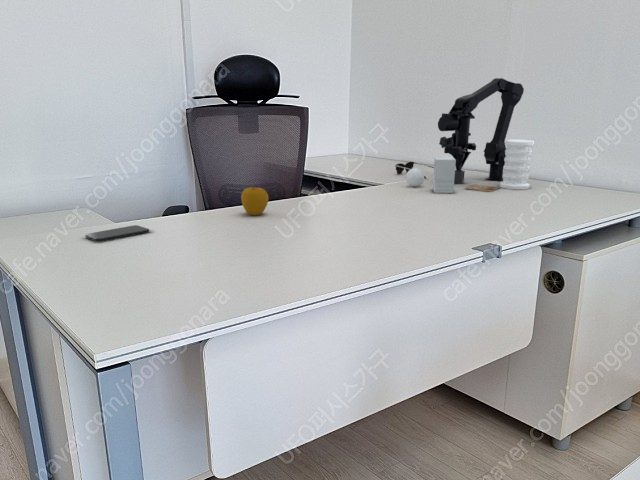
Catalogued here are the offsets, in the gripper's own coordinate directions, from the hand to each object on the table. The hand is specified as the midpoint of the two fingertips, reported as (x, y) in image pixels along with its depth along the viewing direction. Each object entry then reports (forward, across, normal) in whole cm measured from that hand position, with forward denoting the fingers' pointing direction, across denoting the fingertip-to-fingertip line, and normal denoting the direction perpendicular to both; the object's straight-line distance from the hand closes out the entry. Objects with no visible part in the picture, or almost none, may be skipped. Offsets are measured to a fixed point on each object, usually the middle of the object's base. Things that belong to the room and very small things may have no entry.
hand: (458, 169), depth 245 cm
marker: (+3, 0, 0) cm, 3 cm away
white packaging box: (+6, +22, +4) cm, 23 cm away
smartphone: (+6, +138, -40) cm, 144 cm away
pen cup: (+6, 0, 0) cm, 6 cm away
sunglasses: (+6, -8, -22) cm, 25 cm away
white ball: (+6, +18, -12) cm, 22 cm away
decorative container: (+6, -5, +22) cm, 24 cm away
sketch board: (+6, +7, +14) cm, 16 cm away
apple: (+6, +95, -27) cm, 99 cm away
